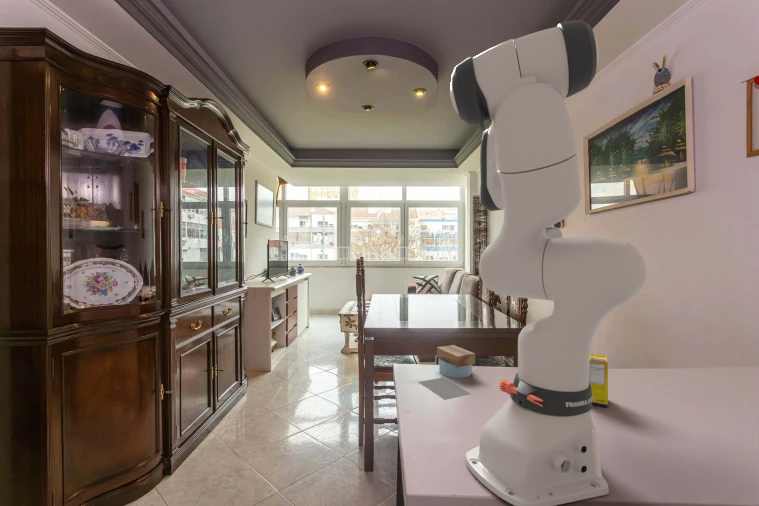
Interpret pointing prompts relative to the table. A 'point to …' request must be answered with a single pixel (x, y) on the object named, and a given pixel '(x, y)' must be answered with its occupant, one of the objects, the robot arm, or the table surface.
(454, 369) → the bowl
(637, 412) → the table surface
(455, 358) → the tan rectangular sponge
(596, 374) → the supplement box
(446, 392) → the mat
